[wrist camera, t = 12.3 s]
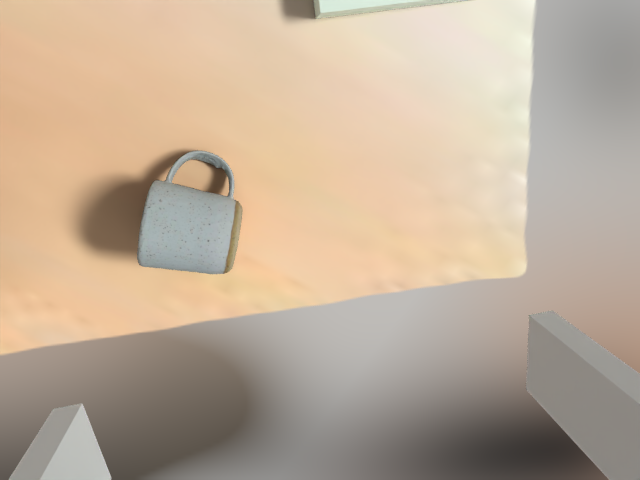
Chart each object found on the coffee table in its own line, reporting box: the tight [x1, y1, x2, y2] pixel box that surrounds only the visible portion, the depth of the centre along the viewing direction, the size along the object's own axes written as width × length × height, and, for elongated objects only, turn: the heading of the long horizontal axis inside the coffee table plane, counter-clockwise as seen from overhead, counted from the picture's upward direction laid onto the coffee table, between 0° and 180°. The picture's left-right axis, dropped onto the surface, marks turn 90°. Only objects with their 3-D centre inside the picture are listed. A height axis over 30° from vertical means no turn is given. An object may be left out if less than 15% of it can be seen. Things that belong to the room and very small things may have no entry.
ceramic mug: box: [137, 151, 242, 274], centre depth 39 cm, size 11×8×8 cm
